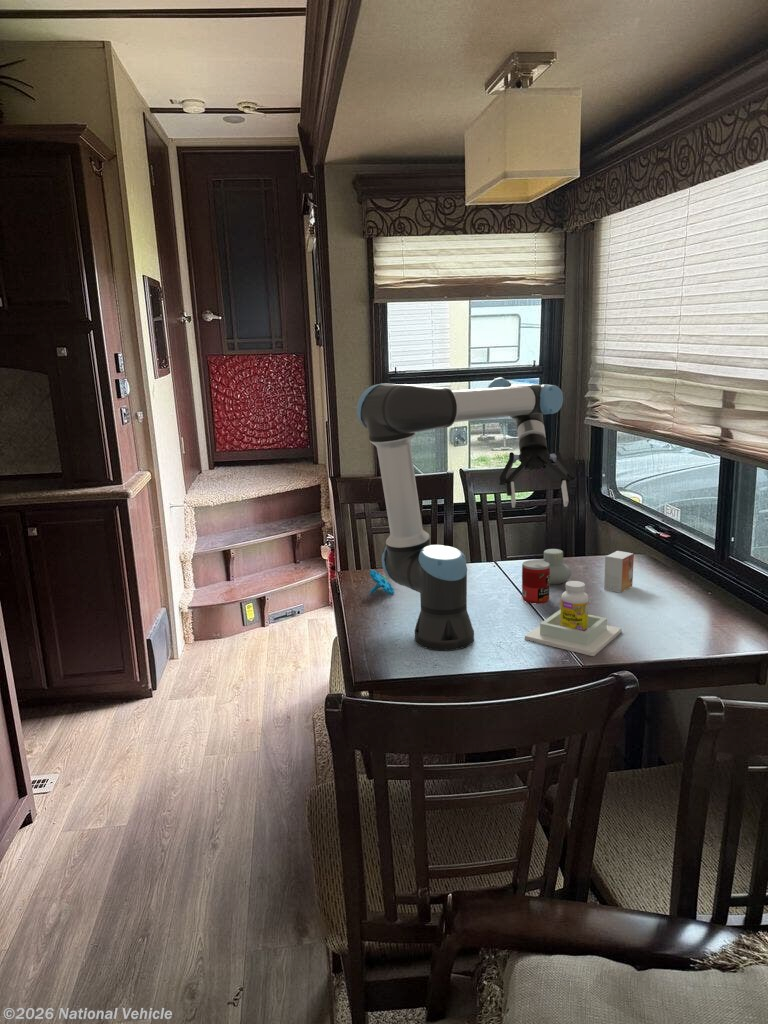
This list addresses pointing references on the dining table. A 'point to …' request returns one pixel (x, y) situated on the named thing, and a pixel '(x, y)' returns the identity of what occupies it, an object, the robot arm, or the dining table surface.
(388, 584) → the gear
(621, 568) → the small box
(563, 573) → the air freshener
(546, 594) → the canned food
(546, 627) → the tray
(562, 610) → the supplement bottle
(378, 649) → the dining table surface
